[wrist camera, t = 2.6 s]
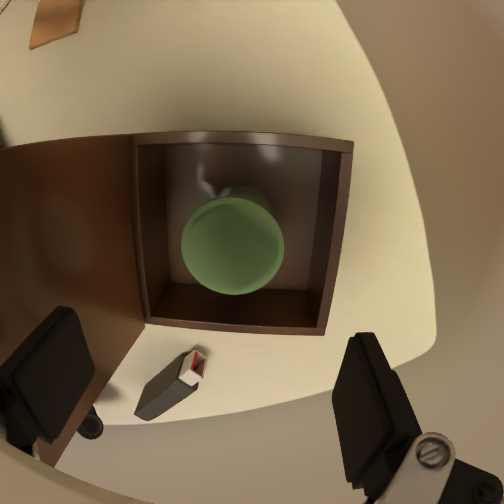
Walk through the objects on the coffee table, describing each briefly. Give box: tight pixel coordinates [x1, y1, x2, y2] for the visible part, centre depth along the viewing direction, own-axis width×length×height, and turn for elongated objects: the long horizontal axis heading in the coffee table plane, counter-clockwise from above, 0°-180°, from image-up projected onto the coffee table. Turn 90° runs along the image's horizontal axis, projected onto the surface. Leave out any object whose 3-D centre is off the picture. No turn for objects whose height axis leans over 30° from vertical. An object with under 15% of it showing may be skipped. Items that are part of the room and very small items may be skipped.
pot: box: [181, 185, 284, 295], centre depth 22 cm, size 7×7×7 cm
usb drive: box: [134, 349, 207, 421], centre depth 31 cm, size 5×12×3 cm
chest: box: [128, 131, 354, 336], centre depth 23 cm, size 15×15×7 cm
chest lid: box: [0, 134, 145, 468], centre depth 12 cm, size 16×15×1 cm
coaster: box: [29, 0, 84, 50], centre depth 17 cm, size 7×7×1 cm
